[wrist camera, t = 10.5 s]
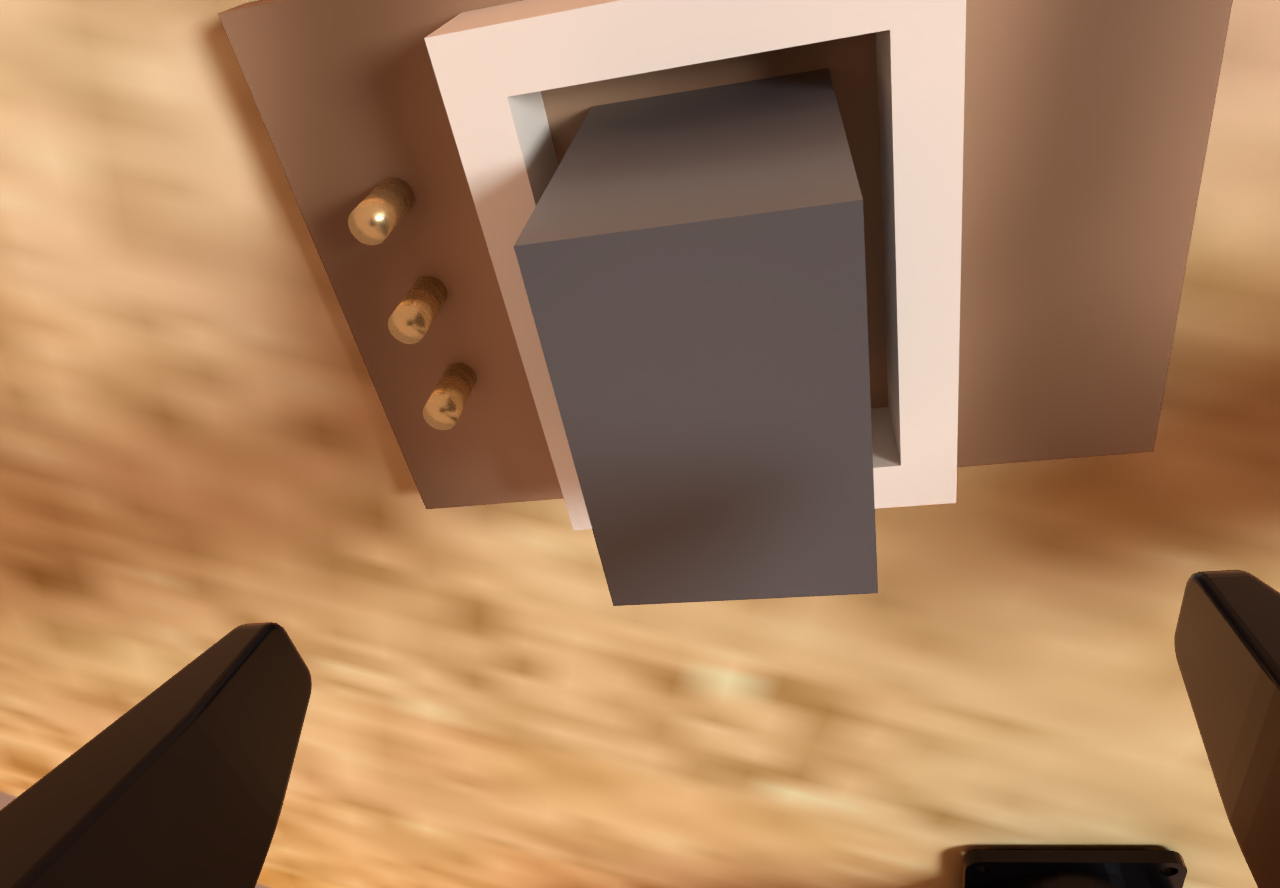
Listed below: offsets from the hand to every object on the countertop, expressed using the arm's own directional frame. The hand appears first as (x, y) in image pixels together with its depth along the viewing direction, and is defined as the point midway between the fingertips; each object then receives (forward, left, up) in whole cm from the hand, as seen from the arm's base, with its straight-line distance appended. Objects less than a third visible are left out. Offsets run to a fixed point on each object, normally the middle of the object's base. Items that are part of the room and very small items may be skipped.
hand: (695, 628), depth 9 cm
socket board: (0, 0, -10) cm, 10 cm away
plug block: (0, 0, -9) cm, 9 cm away
